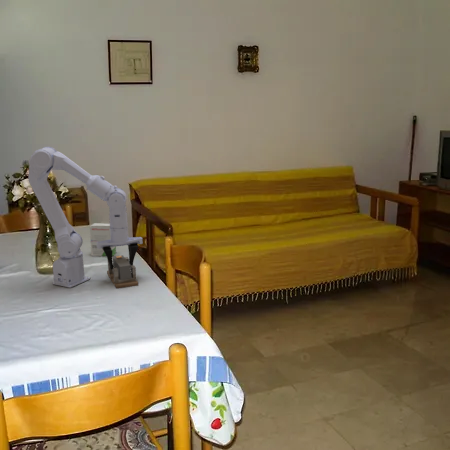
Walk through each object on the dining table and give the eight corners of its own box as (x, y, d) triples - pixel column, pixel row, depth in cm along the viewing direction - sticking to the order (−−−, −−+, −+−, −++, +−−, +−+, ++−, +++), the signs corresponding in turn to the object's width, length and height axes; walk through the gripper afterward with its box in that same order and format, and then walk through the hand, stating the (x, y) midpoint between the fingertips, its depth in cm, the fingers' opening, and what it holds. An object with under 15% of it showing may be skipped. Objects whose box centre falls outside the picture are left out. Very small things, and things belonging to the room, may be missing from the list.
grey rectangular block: (131, 278, 171) (130, 264, 170) (120, 280, 170) (119, 265, 169) (123, 267, 182) (122, 254, 181) (113, 269, 181) (112, 255, 179)
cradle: (138, 285, 171) (137, 268, 169) (116, 288, 168) (115, 271, 167) (127, 270, 185) (126, 255, 184) (107, 273, 183) (106, 258, 181)
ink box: (91, 256, 203) (88, 225, 200) (95, 252, 208) (93, 222, 205) (113, 256, 202) (111, 226, 199) (117, 252, 207) (115, 222, 204)
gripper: (138, 222, 179) (140, 260, 182) (94, 226, 173) (97, 266, 177) (143, 226, 172) (145, 266, 176) (97, 231, 167) (100, 272, 170)
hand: (121, 267), depth 176 cm, fingers open, 6 cm apart
